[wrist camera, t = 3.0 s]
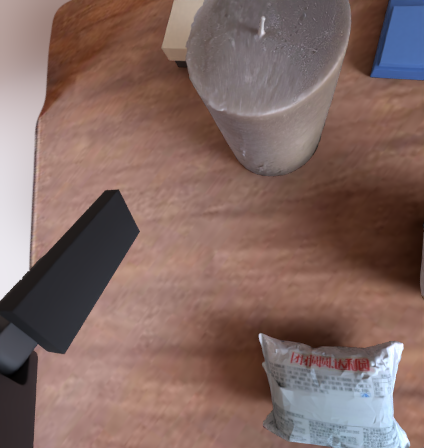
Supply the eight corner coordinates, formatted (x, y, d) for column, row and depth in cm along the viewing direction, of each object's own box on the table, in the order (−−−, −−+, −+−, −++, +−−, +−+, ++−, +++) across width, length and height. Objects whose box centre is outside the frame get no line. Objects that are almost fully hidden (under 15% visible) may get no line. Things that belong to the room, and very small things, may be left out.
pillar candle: (339, 108, 26) (402, -59, 12) (292, 193, 27) (298, 131, 12) (255, 80, 29) (224, -83, 15) (215, 156, 30) (146, 72, 15)
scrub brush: (242, -31, 31) (236, -68, 27) (215, 73, 30) (206, 49, 27) (200, -28, 32) (189, -63, 29) (175, 70, 32) (161, 48, 28)
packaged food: (262, 325, 26) (256, 343, 22) (394, 334, 23) (421, 358, 18) (265, 413, 26) (260, 452, 21) (402, 436, 22) (432, 488, 18)
